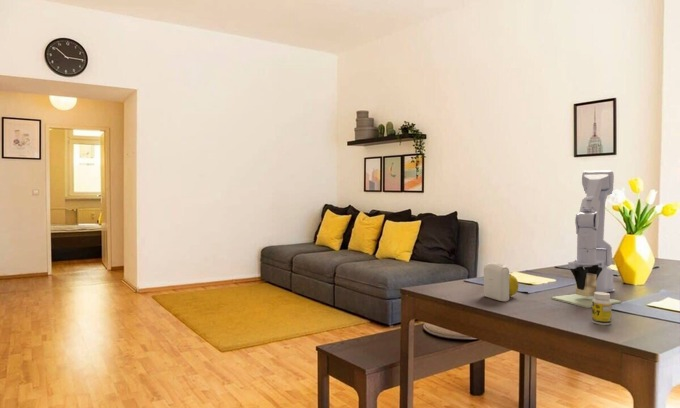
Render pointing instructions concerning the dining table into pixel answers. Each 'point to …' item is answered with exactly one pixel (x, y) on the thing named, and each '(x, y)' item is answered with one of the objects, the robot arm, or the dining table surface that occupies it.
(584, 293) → the birch block
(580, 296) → the felt mat
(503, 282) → the photo printer
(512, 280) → the lemon
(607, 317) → the supplement bottle
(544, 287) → the dining table surface
